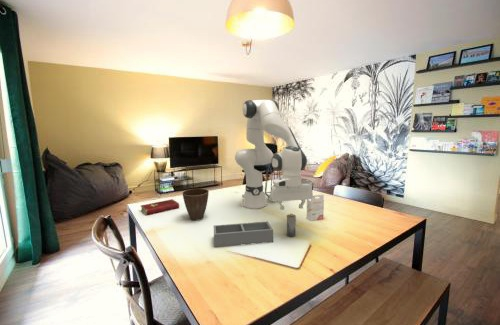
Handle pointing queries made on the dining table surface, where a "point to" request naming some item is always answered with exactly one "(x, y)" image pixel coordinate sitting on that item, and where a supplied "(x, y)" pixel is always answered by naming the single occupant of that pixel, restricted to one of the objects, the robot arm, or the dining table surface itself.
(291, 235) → the metal cell
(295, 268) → the dining table surface
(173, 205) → the hardcover book
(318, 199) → the ink cartridge box
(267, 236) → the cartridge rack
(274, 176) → the geometric lantern
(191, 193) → the plant pot
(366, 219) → the dining table surface
